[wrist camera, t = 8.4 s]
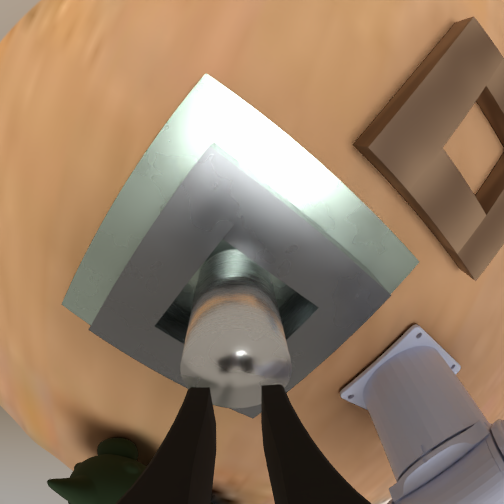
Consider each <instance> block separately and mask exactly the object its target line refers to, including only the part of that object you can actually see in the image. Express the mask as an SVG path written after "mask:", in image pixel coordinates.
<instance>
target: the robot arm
mask: <svg viewBox="0 0 504 504" xmlns="http://www.w3.org/2000/svg"><path fill="white" fill-rule="evenodd" d="M418 333H419V334H418ZM417 334H418V335H417ZM460 369H461V366H460V365H459V364H458V363H457V362H456V361H455V360H454V359H453V358H452V357H451V356H450V355H449V354H448V353H447V352H446V351H445V350H444V349H443V348H442V347H441V346H440V345H439V344H438V343H437V342H436V341H435V340H434V339H433V338H432V337H431V336H430V335H429V334H427V333H426V332H425V331H424V330H423V329H422V328H421V327H420V326H419V325H417V324H415V325H413V326H411V327H410V328H409V329H408V330H407V331H406V332H405V333H404V334H403V335H402V336H401V337H400V338H399V339H398V340H397V341H396V342H395V343H394V344H393V345H392V346H391V347H390V348H389V349H388V350H387V351H386V352H384V353H383V354H382V355H381V356H380V357H379V358H378V359H377V360H376V361H375V362H374V363H372V364H371V365H370V366H369V367H368V368H367V369H366V370H365V371H363V372H362V373H361V374H360V375H359V376H358V377H356V378H355V379H354V380H353V381H352V382H350V383H349V384H348V385H347V386H346V387H344V388H343V389H342V390H341V391H340V396H341V398H343V399H345V400H347V401H349V402H351V403H353V404H356V405H358V406H360V407H362V408H364V409H366V410H368V411H369V413H370V416H371V418H372V421H373V423H374V426H375V428H376V430H377V433H378V435H379V438H380V440H381V443H382V445H383V448H384V450H385V453H386V455H387V458H388V460H389V463H390V466H391V468H392V471H393V473H394V476H395V479H396V481H397V483H396V484H394V485H393V486H392V487H390V488H389V491H390V494H391V496H392V499H391V500H390V501H389V502H388V503H387V504H504V420H501V419H498V420H497V421H495V422H494V423H493V424H490V423H489V422H488V421H487V419H486V418H485V416H484V415H483V413H482V412H481V410H480V409H479V407H478V406H477V405H476V403H475V402H474V400H473V399H472V397H471V396H470V394H469V393H468V392H467V390H466V389H465V387H464V386H463V385H462V383H461V382H460V380H459V379H458V378H457V376H456V374H457V373H458V372H459V370H460ZM261 416H262V434H263V446H264V452H265V457H266V462H267V467H268V472H269V477H270V482H271V486H272V491H273V496H274V501H275V504H371V503H370V502H369V501H368V500H366V499H365V498H364V497H363V496H362V495H361V494H359V493H358V492H357V491H356V490H355V489H354V488H353V487H352V486H351V485H350V484H349V483H348V482H347V481H346V480H345V479H344V478H343V477H342V476H341V475H340V474H339V473H338V472H337V470H336V469H335V468H334V467H333V466H332V465H331V463H330V462H329V461H328V460H327V459H326V457H325V456H324V455H323V453H322V452H321V451H320V449H319V448H318V447H317V445H316V444H315V443H314V441H313V440H312V438H311V437H310V435H309V434H308V432H307V431H306V429H305V428H304V426H303V424H302V423H301V421H300V419H299V418H298V416H297V414H296V412H295V410H294V409H293V407H292V405H291V403H290V401H289V398H288V396H287V394H286V392H285V389H284V386H282V385H281V384H276V385H262V386H261ZM215 456H216V421H215V416H214V410H213V404H212V398H211V392H210V387H191V388H190V389H188V391H187V394H186V397H185V399H184V402H183V404H182V406H181V408H180V411H179V413H178V415H177V417H176V419H175V421H174V423H173V425H172V426H171V428H170V430H169V432H168V434H167V435H166V437H165V439H164V441H163V442H162V444H161V446H160V447H159V449H158V450H157V452H156V453H155V455H154V457H153V458H152V460H151V461H150V463H149V464H148V465H147V467H146V468H145V470H144V471H143V472H142V474H141V475H140V476H139V477H138V479H137V480H136V481H135V482H134V484H133V485H132V486H131V487H130V488H129V489H128V491H127V492H126V493H125V494H124V495H123V496H122V497H121V498H120V499H119V500H118V501H117V502H116V504H211V495H212V485H213V476H214V466H215Z"/></svg>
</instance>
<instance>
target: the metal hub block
mask: <svg viewBox="0 0 504 504" xmlns="http://www.w3.org/2000/svg"><path fill="white" fill-rule="evenodd" d="M232 249H233V250H239V251H240V252H241V253H243V254H244V255H246V256H247V257H248V258H250V259H251V260H253V261H254V262H255V263H257V264H258V265H260V266H261V267H262V268H264V269H265V270H267V271H268V272H269V273H270V276H271V280H272V284H273V288H274V292H275V296H276V300H277V304H278V309H279V313H280V317H281V321H282V325H283V330H284V334H285V338H286V342H287V346H288V351H289V355H290V359H291V364H292V373H291V377H290V380H289V382H288V384H287V385H286V387H285V388H284V389H285V392H286V393H287V392H288V391H289V390H290V389H291V388H293V387H294V386H295V385H296V384H298V383H299V382H300V381H301V380H302V379H304V378H305V377H306V376H307V375H308V374H309V373H311V372H312V371H313V370H314V369H315V368H316V367H317V366H319V365H320V364H321V363H322V362H323V361H324V360H325V359H326V358H328V357H329V356H330V355H331V354H332V353H333V352H334V351H335V350H336V349H337V348H339V347H340V346H341V345H342V344H343V343H344V342H345V341H346V340H347V339H348V338H349V337H350V336H351V335H352V334H353V333H354V332H355V331H357V330H358V329H359V328H360V327H361V326H362V325H363V324H364V323H365V322H366V321H367V320H368V319H369V318H370V317H371V316H372V315H373V314H374V313H375V312H376V311H377V310H378V309H379V308H380V307H381V305H382V304H383V303H384V302H385V301H386V300H387V299H388V298H389V297H390V296H391V295H390V294H391V293H392V292H393V291H394V290H395V289H396V288H397V287H398V286H399V284H400V283H401V282H402V281H403V280H404V279H405V278H406V277H407V276H408V274H409V273H410V272H411V271H412V270H413V269H414V268H415V266H416V265H417V264H418V263H419V261H418V260H417V259H416V257H415V256H414V255H413V254H412V253H411V252H410V251H409V250H408V249H407V248H406V246H405V245H404V244H403V243H402V242H401V241H400V240H399V239H398V238H397V237H396V236H395V235H394V234H393V233H392V231H391V230H390V229H389V228H388V227H387V226H386V225H385V224H384V223H383V222H382V221H381V220H380V219H379V218H378V217H377V216H376V215H375V214H374V213H373V212H372V211H371V210H370V209H369V208H368V207H367V206H366V205H365V204H364V203H363V202H362V201H361V200H360V199H359V198H358V197H357V196H356V195H355V194H354V193H353V192H352V191H350V190H349V189H348V188H347V187H346V186H345V185H344V184H343V183H342V182H341V181H340V180H339V179H338V178H337V177H335V176H334V175H333V174H332V173H331V172H330V171H329V170H328V169H327V168H326V167H324V166H323V165H322V164H321V163H320V162H319V161H318V160H317V159H315V158H314V157H313V156H312V155H311V154H310V153H309V152H307V151H306V150H305V149H304V148H303V147H302V146H300V145H299V144H298V143H297V142H296V141H295V140H293V139H292V138H291V137H290V136H289V135H287V134H286V133H285V132H284V131H282V130H281V129H280V128H279V127H278V126H276V125H275V124H274V123H273V122H271V121H270V120H269V119H267V118H266V117H265V116H264V115H262V114H261V113H260V112H259V111H257V110H256V109H255V108H253V107H252V106H251V105H249V104H248V103H247V102H245V101H244V100H243V99H241V98H240V97H239V96H237V95H236V94H235V93H233V92H232V91H231V90H229V89H228V88H226V87H225V86H224V85H222V84H221V83H219V82H218V81H217V80H215V79H214V78H212V77H211V76H209V75H208V74H205V75H204V76H203V77H202V78H201V80H200V81H199V82H198V83H197V84H196V86H195V87H194V88H193V89H192V91H191V92H190V93H189V94H188V96H187V97H186V98H185V99H184V101H183V102H182V103H181V104H180V106H179V107H178V108H177V110H176V111H175V112H174V114H173V115H172V116H171V118H170V119H169V120H168V122H167V123H166V124H165V126H164V127H163V128H162V130H161V131H160V133H159V134H158V135H157V137H156V138H155V140H154V141H153V142H152V144H151V145H150V147H149V148H148V150H147V151H146V153H145V154H144V156H143V157H142V158H141V160H140V161H139V163H138V165H137V166H136V168H135V169H134V171H133V172H132V174H131V175H130V177H129V178H128V180H127V182H126V183H125V185H124V186H123V188H122V190H121V191H120V193H119V195H118V196H117V198H116V200H115V201H114V203H113V205H112V206H111V208H110V210H109V211H108V213H107V215H106V217H105V218H104V220H103V222H102V224H101V226H100V227H99V229H98V231H97V233H96V235H95V237H94V238H93V240H92V242H91V244H90V246H89V248H88V250H87V252H86V254H85V256H84V258H83V260H82V262H81V264H80V266H79V268H78V270H77V272H76V274H75V276H74V278H73V280H72V282H71V285H70V287H69V289H68V291H67V293H66V295H65V298H64V300H63V302H62V305H63V306H64V307H66V308H67V309H69V310H70V311H71V312H73V313H74V314H75V315H77V316H78V317H80V318H81V319H82V320H84V321H85V322H87V323H88V324H90V325H91V326H90V328H89V330H90V331H91V332H93V333H94V334H96V335H97V336H99V337H100V338H102V339H103V340H105V341H106V342H108V343H109V344H111V345H113V346H114V347H116V348H117V349H119V350H121V351H122V352H124V353H125V354H127V355H129V356H130V357H132V358H134V359H135V360H137V361H139V362H140V363H142V364H144V365H146V366H147V367H149V368H151V369H153V370H154V371H156V372H158V373H160V374H162V375H163V376H165V377H167V378H169V379H171V380H173V381H174V382H176V383H178V384H180V385H182V386H184V387H186V385H185V383H184V382H183V379H182V377H181V372H180V365H181V359H182V354H183V349H184V344H185V339H186V334H187V329H188V324H189V319H190V314H191V309H192V304H193V300H194V295H195V290H196V286H197V281H198V277H199V273H200V270H201V268H202V266H203V265H204V263H205V262H206V261H207V260H208V259H209V258H210V257H212V256H213V255H215V254H217V253H219V252H222V251H226V250H232ZM186 388H187V387H186ZM230 409H232V410H234V411H237V412H239V413H241V414H244V415H246V416H248V417H251V418H254V417H256V416H257V415H258V414H260V413H261V404H259V405H256V406H252V407H247V408H230Z"/></svg>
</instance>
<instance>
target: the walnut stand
mask: <svg viewBox="0 0 504 504" xmlns="http://www.w3.org/2000/svg"><path fill="white" fill-rule="evenodd" d="M475 102H477V103H478V105H479V106H480V108H481V109H482V111H483V112H484V114H485V116H486V117H487V119H488V120H489V122H490V124H491V125H492V127H493V129H494V131H495V132H496V134H497V136H498V138H499V139H500V141H501V143H502V145H503V147H504V58H503V56H502V55H501V53H500V52H499V50H498V49H497V47H496V46H495V45H494V43H493V42H492V40H491V39H490V37H489V36H488V35H487V33H486V32H485V31H484V29H483V28H482V27H481V25H480V24H479V23H478V21H477V20H476V19H475V18H474V17H471V18H468V19H465V20H462V21H459V22H456V23H454V25H453V26H452V27H451V28H450V30H449V31H448V32H447V33H446V34H445V36H444V37H443V38H442V39H441V40H440V42H439V43H438V44H437V45H436V46H435V48H434V49H433V50H432V51H431V52H430V54H429V55H428V56H427V57H426V58H425V60H424V61H423V62H422V63H421V64H420V66H419V67H418V68H417V69H416V70H415V72H414V73H413V74H412V75H411V76H410V78H409V79H408V80H407V81H406V82H405V84H404V85H403V86H402V87H401V88H400V90H399V91H398V92H397V93H396V94H395V96H394V97H393V98H392V99H391V100H390V102H389V103H388V104H387V105H386V106H385V107H384V109H383V110H382V111H381V112H380V113H379V115H378V116H377V117H376V118H375V119H374V121H373V122H372V123H371V124H370V125H369V126H368V128H367V129H366V130H365V131H364V132H363V134H362V135H361V136H360V137H359V138H358V140H357V141H356V142H355V143H354V144H353V145H354V146H355V147H356V148H357V149H358V150H359V151H360V152H361V153H362V154H363V155H364V156H365V157H366V158H367V159H368V160H369V161H370V162H371V163H372V164H373V165H374V166H375V167H376V168H377V169H378V170H379V172H380V173H381V174H382V175H383V176H384V177H385V178H386V179H387V180H388V181H389V182H390V183H391V184H392V185H393V187H394V188H395V189H396V190H397V191H398V192H399V193H400V194H401V196H402V197H403V198H404V199H405V200H406V201H407V202H408V204H409V205H410V206H411V207H412V208H413V209H414V211H415V212H416V213H417V214H418V215H419V216H420V218H421V219H422V220H423V221H424V223H425V224H426V225H427V226H428V227H429V229H430V230H431V231H432V232H433V234H434V235H435V236H436V238H437V239H438V240H439V241H440V243H441V244H442V245H443V247H444V248H445V249H446V251H447V252H448V253H449V255H450V256H451V257H452V259H453V260H454V261H455V263H456V264H457V266H458V267H459V268H460V269H461V270H462V271H463V272H465V273H466V274H467V275H469V276H470V277H471V278H472V279H474V280H475V281H476V280H477V279H478V278H479V276H480V275H481V274H482V273H483V271H484V270H485V269H486V267H487V266H488V265H489V263H490V262H491V261H492V259H493V258H494V257H495V255H496V254H497V253H498V251H499V250H500V248H501V247H502V245H503V244H504V153H503V154H502V156H501V158H500V159H499V161H498V162H497V164H496V166H495V167H494V169H493V170H492V172H491V173H490V175H489V176H488V178H487V179H486V181H485V182H484V184H483V185H482V187H481V188H480V190H479V191H478V192H477V194H476V195H474V193H473V192H472V190H471V189H470V187H469V186H468V184H467V182H466V181H465V179H464V178H463V176H462V175H461V173H460V172H459V170H458V169H457V167H456V166H455V165H454V163H453V162H452V160H451V159H450V157H449V156H448V155H447V153H446V152H445V151H444V149H443V147H444V145H445V144H446V143H447V141H448V140H449V138H450V137H451V136H452V134H453V133H454V132H455V130H456V129H457V127H458V126H459V125H460V123H461V122H462V120H463V119H464V118H465V116H466V115H467V113H468V112H469V110H470V109H471V107H472V106H473V105H474V103H475Z"/></svg>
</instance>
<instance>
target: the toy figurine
mask: <svg viewBox="0 0 504 504" xmlns="http://www.w3.org/2000/svg"><path fill="white" fill-rule="evenodd" d="M97 454H98V456H94V457H91V458H89V459H87V460H85V461H83V462H82V463H81V462H80V463H77V464H76V465H75V467H74V471H73V472H72V474H71V476H70V478H63V479H50V480H48V481H47V483H48V485H49V487H50V488H51V489H53V490H54V491H55V492H56V493H58V494H59V495H60V496H62V497H63V498H64V499H66V500H68V503H69V504H116V502H117V501H118V500H119V499H120V498H121V497H122V496H123V495H124V494H125V493H126V492H127V491H128V489H129V488H130V487H131V486H132V485H133V484H134V482H135V481H136V480H137V479H138V477H139V476H140V475H141V474H142V472H143V471H144V470H145V468H146V466H145V465H144V464H142V463H140V462H138V461H136V460H137V458H138V450H137V448H136V446H135V445H134V443H133V442H131V441H130V440H127V439H124V438H109V439H107V440H104V441H102V442H100V444H99V446H98V449H97ZM211 504H213V503H212V502H211Z"/></svg>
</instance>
